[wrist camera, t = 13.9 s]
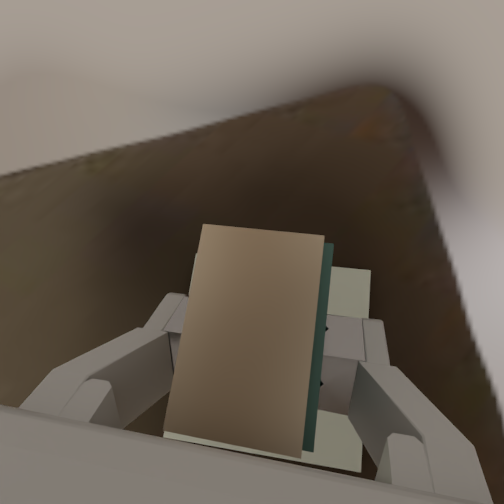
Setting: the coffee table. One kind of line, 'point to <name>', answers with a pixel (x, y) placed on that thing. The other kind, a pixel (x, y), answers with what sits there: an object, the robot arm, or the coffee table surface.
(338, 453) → the sage mat
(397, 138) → the coffee table surface
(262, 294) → the card deck block
